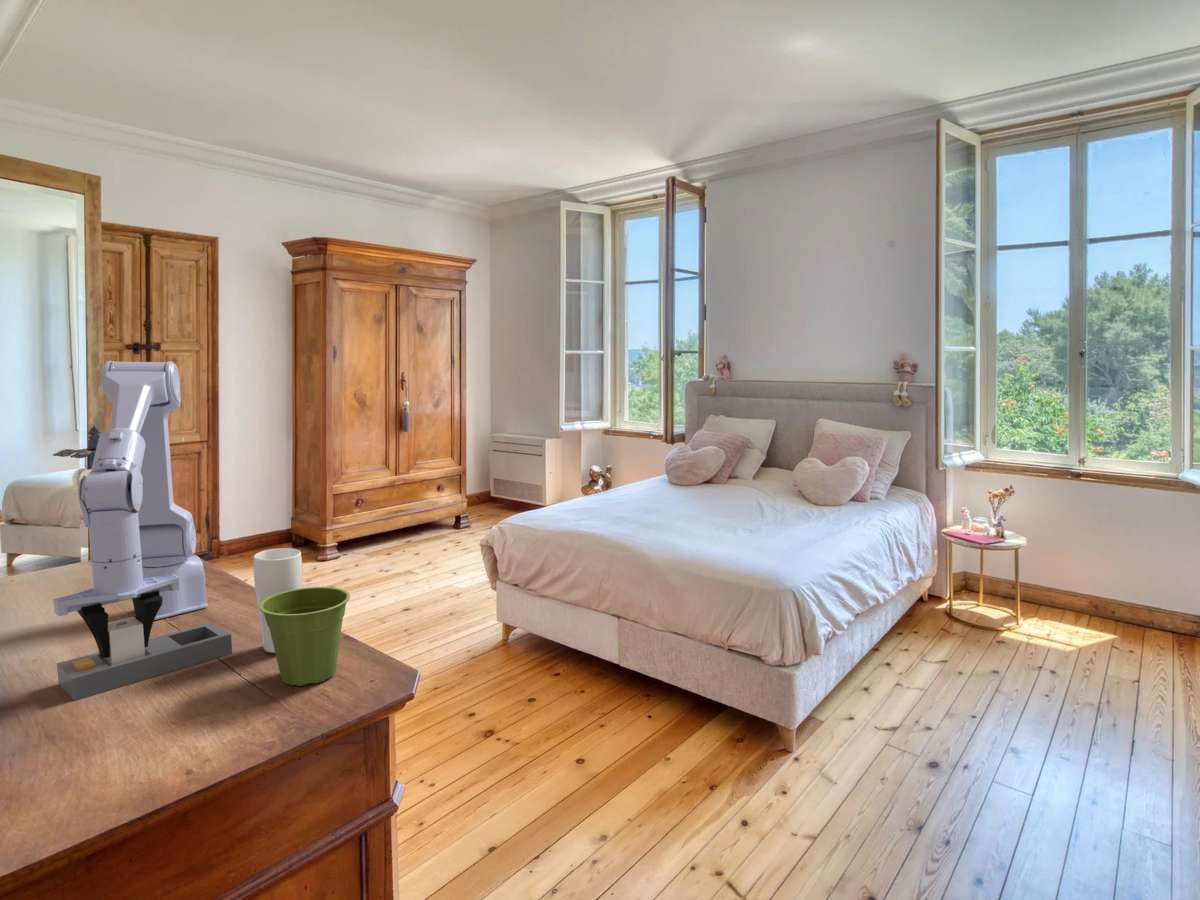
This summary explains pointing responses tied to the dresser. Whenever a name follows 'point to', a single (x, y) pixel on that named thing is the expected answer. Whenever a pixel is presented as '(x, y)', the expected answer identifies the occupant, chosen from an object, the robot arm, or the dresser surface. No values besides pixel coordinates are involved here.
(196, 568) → the robot arm
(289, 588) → the white tall hollow cylinder
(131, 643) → the block
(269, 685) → the dresser surface
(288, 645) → the plant pot
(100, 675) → the power strip
